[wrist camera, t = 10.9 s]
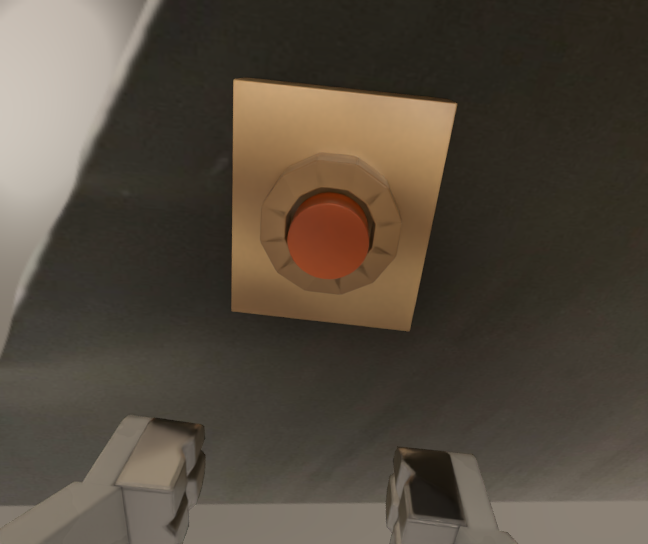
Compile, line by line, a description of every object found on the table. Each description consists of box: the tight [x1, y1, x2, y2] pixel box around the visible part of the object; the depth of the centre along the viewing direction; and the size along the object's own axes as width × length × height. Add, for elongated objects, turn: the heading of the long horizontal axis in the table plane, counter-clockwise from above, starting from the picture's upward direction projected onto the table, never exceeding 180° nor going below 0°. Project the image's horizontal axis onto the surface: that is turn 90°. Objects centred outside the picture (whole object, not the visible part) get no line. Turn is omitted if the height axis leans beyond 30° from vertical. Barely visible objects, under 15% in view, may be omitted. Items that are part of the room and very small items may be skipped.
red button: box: [287, 192, 369, 279], centre depth 21 cm, size 4×4×2 cm
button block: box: [231, 77, 457, 331], centre depth 23 cm, size 12×10×4 cm
